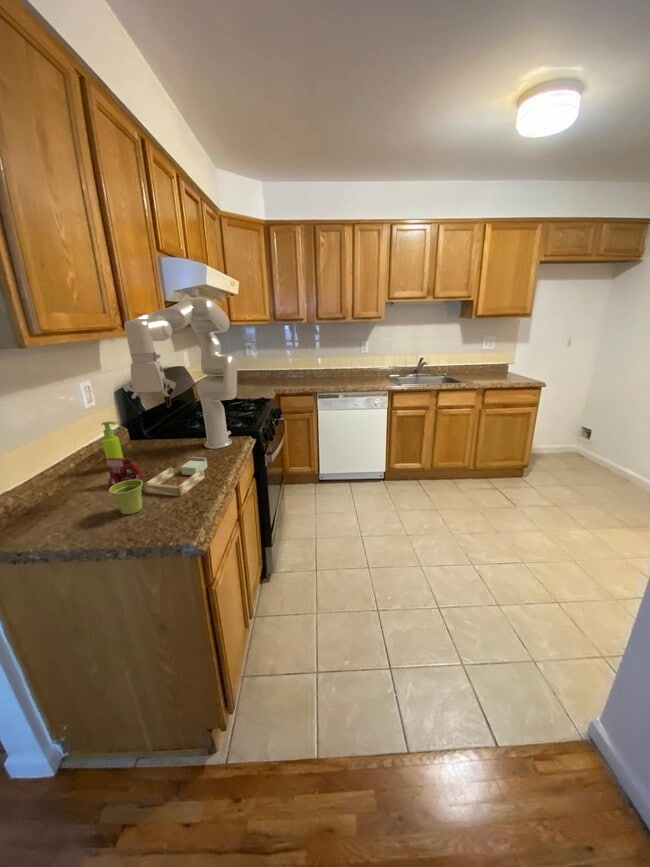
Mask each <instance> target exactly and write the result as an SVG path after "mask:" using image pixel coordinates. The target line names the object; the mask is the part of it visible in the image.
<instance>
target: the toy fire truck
mask: <svg viewBox="0 0 650 867" xmlns="http://www.w3.org/2000/svg"><path fill="white" fill-rule="evenodd" d="M105 463H106V466H107V467H108V471H109V472H108V473H109V475H110V478H109V479H108V485H109V486H110V487H112V486H113V485H115V484H117V483H120V482H123V481H127V480H141V481H143V479H144V478H143V477H144V476H143V474H142V470H141V468H140V467H139V466H138V465H137V463H136V462H134V461H133V459H132V458H131V457H126V458H124V457H123V458H108V459H107V458H106V460H105Z"/></svg>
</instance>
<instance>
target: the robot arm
mask: <svg viewBox="0 0 650 867" xmlns="http://www.w3.org/2000/svg"><path fill="white" fill-rule="evenodd" d="M189 325H190V327H191V328H192V330H193V332H195V334H196V336H197V337H198V339H199V342H200V359H201V360H200V367H201V368H200V369H201V372H202V374H203V375H206V376H212V377H217V376H218V377H221V376H222V377H223V378H203V379H200V381H198V382H197V386H196V392H197V395H198V397H199V399H200V403H201V404H200V405H201V407H202V413H203V420H204V426H205V434H206V439H207V440H206V441H205V442H204V447H205V448H207V449H213V450H215V449H222V448H226V447H228V446H230V445H232V443H233V440H232V439H231V438H229V436H230V435H231V434H232V432H231V430H228V429H227V427H228V426H227V422H226V420H227V419H226V413H225V407H224V405H223V403H222V402H221V401H226V400H227V401H228V400H229V401H230V400H233V399H235V397H236V395H237V389H238V365H237V361H236V359H235V357H234V356H233V355H232V354H225V353H222V350H221V349H222V348H221V346H222V345H221V342H220V340H219V338H218V337H217V336H216V335H215V334H217V333H218V334H221V333H226V332H227V331H228V330H229V328H230V319H229V317H228V315H227V314H226V312H225V311H224V310H222V309H221V307H220V306H218V304H216V302H214V301H213V300H211V299H209V298H207V297H206V298H205V297H203V298H202V297H201V298H199V297H198V298H186V299H183V300H181V301H179V302H178V303H176V304H173V305H171V306H169V307H165V308H161V309H158V310H155V311H152V312H147V313H145V314H142V315H139V316H138V317H135V318H133V319H132V320H127V321H125V322H124V331H125V336H126V340H127V344H128V345H127V346H128V349H129V350H128V351H129V354H130V358H131V359H130V360H131V362H132V363H130V381H129V382H127V383H126V384H124V385H123V386H122V389H123V390H124V391H125V392H126V394H127V395H128V396H129V397H131V399H133V401H134V402H133V403H134V406H135V408H136V410H137V411H140V410H141V409H142V408H143V404H142V403H143V402H142V399H141V398H142V397H141V396H139V395H140V394H145V393H147V394H148V393H161V394H163V396H164V398H163V399H164V404H165V408H166V409H169V408H170V407H171V405H172V398H171V395H172V394H173V392H174V391H175V388H176V385H177V382H175V381H173V380H171V379H167V378H166V376H165V373H164V368H163V366H162V363H161V362H160V361H158V360H159V359H162V358H161V354H158V353H157V352H156V350H155V345H154V344H155V342H164V341H168V340H169V339H170V338H171V336H172V335H173V332H174V331H177V330H182V329H184V328H185V327H187V326H189ZM168 385H169V387H170V388H169V389H168ZM131 386H132V390H131V388H130V387H131Z"/></svg>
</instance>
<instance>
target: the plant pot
mask: <svg viewBox="0 0 650 867" xmlns="http://www.w3.org/2000/svg"><path fill="white" fill-rule="evenodd" d="M143 484H144V483H143V480H127V481H123V482H120V483H117V484H115V485H113V486H110V487H109V489H108V492H109V493H110V494H111V495H112V497H113V498H114V499H115V502H116V504H117V506H118V509H119V511H120V513H121V514H122V515H132V514H135V513H138V512H140V511H141V509H143V496H142V490H143Z"/></svg>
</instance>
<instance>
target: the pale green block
mask: <svg viewBox="0 0 650 867" xmlns="http://www.w3.org/2000/svg"><path fill="white" fill-rule="evenodd" d="M189 459H190V460H188V461H187V462H186V463H184V464H183V465H181V466H180V470H181V475H185V476H187V475H188V476H193V475H194V474H195V473H197V472H198V471H199V470H204V471H205V470H206V469H207V468H208V461H207V457H204V456H203V457H202V456H191V457H189Z"/></svg>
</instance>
